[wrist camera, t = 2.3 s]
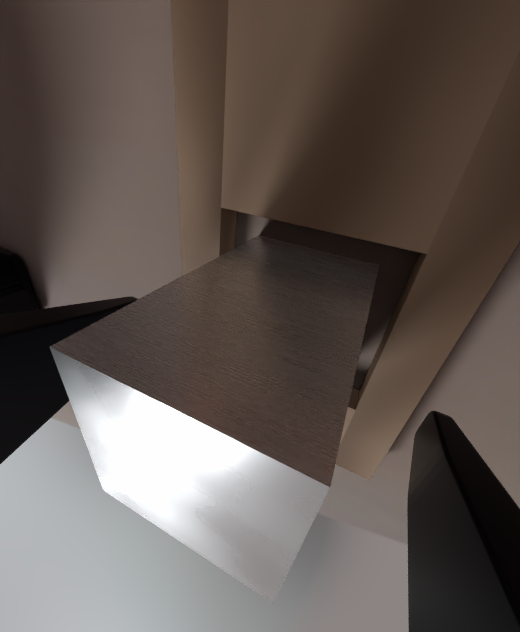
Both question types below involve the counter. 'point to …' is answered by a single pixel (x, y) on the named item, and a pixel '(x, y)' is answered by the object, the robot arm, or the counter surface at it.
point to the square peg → (226, 400)
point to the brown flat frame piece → (359, 157)
